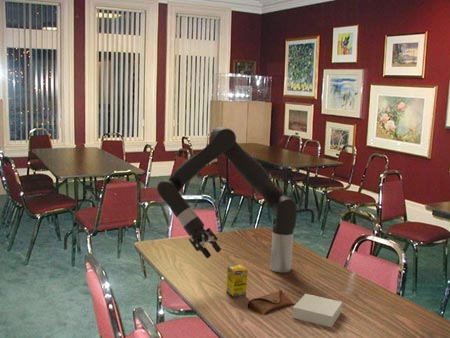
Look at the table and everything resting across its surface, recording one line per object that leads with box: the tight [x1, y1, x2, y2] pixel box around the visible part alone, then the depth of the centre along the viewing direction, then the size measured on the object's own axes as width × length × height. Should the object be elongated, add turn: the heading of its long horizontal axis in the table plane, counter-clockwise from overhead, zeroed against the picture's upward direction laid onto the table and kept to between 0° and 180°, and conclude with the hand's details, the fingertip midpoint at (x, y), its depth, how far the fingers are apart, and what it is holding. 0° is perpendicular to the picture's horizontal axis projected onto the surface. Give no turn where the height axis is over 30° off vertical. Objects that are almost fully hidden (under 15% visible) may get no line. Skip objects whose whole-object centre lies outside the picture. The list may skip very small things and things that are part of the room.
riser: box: [292, 293, 343, 328], centre depth 184 cm, size 14×14×4 cm
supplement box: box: [225, 264, 249, 299], centre depth 198 cm, size 6×6×11 cm
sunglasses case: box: [247, 289, 296, 316], centre depth 190 cm, size 18×7×7 cm, turn 131°
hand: (214, 254), depth 201 cm, fingers open, 8 cm apart
